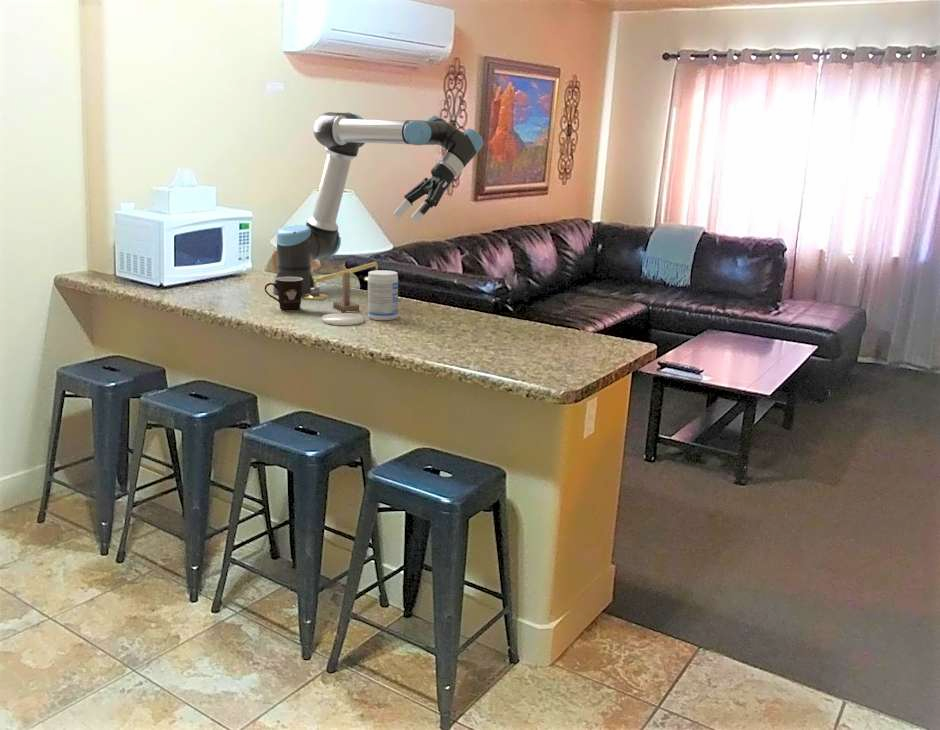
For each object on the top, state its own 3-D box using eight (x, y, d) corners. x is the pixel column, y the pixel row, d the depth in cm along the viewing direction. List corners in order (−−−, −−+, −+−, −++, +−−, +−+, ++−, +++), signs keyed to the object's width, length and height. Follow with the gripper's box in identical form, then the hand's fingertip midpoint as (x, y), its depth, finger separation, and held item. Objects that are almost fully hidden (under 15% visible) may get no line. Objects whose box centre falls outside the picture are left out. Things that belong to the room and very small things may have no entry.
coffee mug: (306, 307, 297) (306, 277, 294) (299, 312, 288) (298, 281, 286) (272, 305, 298) (271, 275, 295) (264, 310, 289) (263, 279, 287)
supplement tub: (399, 321, 281) (400, 274, 277) (369, 321, 279) (369, 274, 275) (395, 314, 290) (395, 269, 286) (366, 315, 288) (366, 269, 284)
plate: (315, 318, 280) (315, 314, 280) (354, 315, 287) (354, 311, 286) (330, 327, 269) (330, 323, 269) (370, 323, 276) (370, 320, 275)
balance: (299, 310, 291) (298, 263, 287) (382, 304, 306) (382, 259, 302) (307, 315, 285) (306, 267, 281) (392, 308, 299) (392, 263, 295)
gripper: (472, 180, 280) (429, 230, 277) (436, 176, 301) (396, 222, 298) (457, 163, 276) (413, 213, 273) (422, 160, 298) (381, 207, 294)
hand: (404, 218), depth 286 cm, fingers open, 13 cm apart
